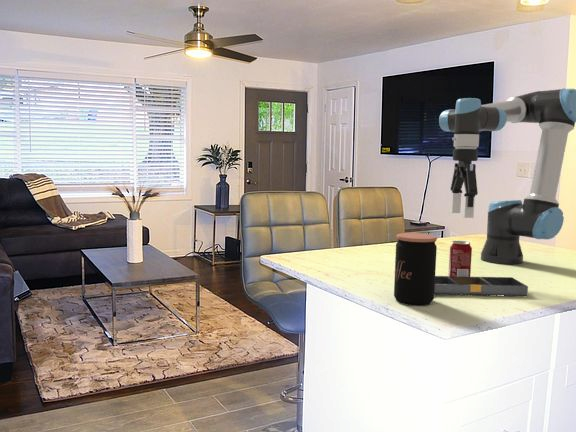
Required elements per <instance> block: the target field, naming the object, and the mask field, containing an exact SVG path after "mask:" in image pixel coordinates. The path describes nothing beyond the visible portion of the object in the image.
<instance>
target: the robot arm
mask: <svg viewBox="0 0 576 432" xmlns="http://www.w3.org/2000/svg"><path fill="white" fill-rule="evenodd" d="M438 122H439V123H438V125H439V127H440V129H441V130H442V131H444V132H449V133H453V132H454V134H453V137H452V138H451V139H452V141H453V147H454V149H453V150H452V160H453V162H454V161H455V163H454V169H453V175H452V178H451V185H450V191H451V193H452V194H451V197H452V198H451V214H460V213H461V204H462V194H463V190H462V188H463V185H464V190H465V193H464V195H463V196H464V209H463V218H465V219H469V218H471V219H474V215H475V213H474V212H475V197H476V196H477V195H478V194H479V191H478V183H477V173H476V167H477V166H476V164H475V163H473V162H477V161H478V160H479V159H478V158H479V150H478V148H479V145H480V132H484V131H485V132H486V131H487V132H488V131H489V132H497V131H501V130H502V129H503V128H504V127H505V125H506V124H507V123H508V122H509V123H511V124H517V123H518V124H519V123H533V124H538V126H539V127H540V129H541V135H540V140H539V143H538V144H539V146H538V150H537V156H536V161H535V166H534V170H533V177H532V181H531V186H530V190H529V191H530V192H529V194H528V195H527V196H526V197H524V199H523V201H522V200H521V199H516V200H514V199H513V200H499V201H492V202H490V203H489V205H488V210H487V225H486V240H485V243H484V244H483V245H484V246H483V248H482V250H481V252H480V259H481V260H482V261H484V262H488V263H493V264H502V265H503V264H504V265H517V264H522V263H524V255H523V252H522V247H521V244H520V237H525V238H531V239H532V238H533V239H536V240H551V239H554V238H555V237H556V236H557V235H558V234H559V233H560V231H561V230H562V227H563V225H564V221H565V219H564V218H565V217H564V212H563V210H562V209H561V208H560V202H559V201H558V200H557V199H556V198H557V192H558V189H559V188H558V187H559V182H560V177H561V171H562V168H563V167H562V166H563V162H564V158H565V152H566V147H567V141H568V137H569V133H570V132H572V131H573V130H574V129H575V127H576V125H575V124H576V89H575V88H559V89H550V90H537V91H536V90H535V91H532V92H529V93H526V94H525V93H524V94H522V95H518V96H513V97H512V96H511V97H510V98H508V99H507V100H504V101H499V102H493V103H486V104H482V101H481V99H479V98H476V97H473V98H472V97H467V98H466V97H464V98H458V99H457V100H456V103H455V109H451V108H450V109H446V110H444V111H442V112H441V113H440V115H439V118H438ZM456 161H457V163H456Z"/></svg>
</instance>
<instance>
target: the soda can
mask: <svg viewBox="0 0 576 432" xmlns="http://www.w3.org/2000/svg"><path fill="white" fill-rule="evenodd" d="M472 252H473V247H472V246H471V242H469V241H466V240H452V243H451V245H450V246H449V256H448V257H449V258H448V259H449V260H448V275H447V276H465V277H471V271H472V255H473V254H472Z"/></svg>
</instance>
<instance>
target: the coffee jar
mask: <svg viewBox="0 0 576 432" xmlns="http://www.w3.org/2000/svg"><path fill="white" fill-rule="evenodd" d="M396 239H397V242H396V244H395V260H394V263H395V264H394V282H393V283H394V286H393V297H394V299H395V300H396V302H398V303H399V304H402V305H406V306H413V307H421V306H422V307H424V306H429V305H430V304H432V302H433V301H434V299H435V295H434V291H435V276H436V271H437V270H436V269H437V249H438V248H437V244H436V241H437V240H438V237H437V236H436V235H435V234H427V233H419V232H403V233H401V232H400V233H397V234H396Z"/></svg>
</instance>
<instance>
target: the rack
mask: <svg viewBox="0 0 576 432" xmlns="http://www.w3.org/2000/svg"><path fill="white" fill-rule="evenodd" d="M528 289H529V286H528V285H526V284H524V283H523V282H521V281H519V280H518V279H516V278H514V277H510V276H508V277H506V276H505V277H502V276H470V277H465V276H448V275H435V291H434V296H468V295H470V296H471V295H472V296H477V297H478V296H479V297H491V296H490V295H496V296H495V297H498V296H497V295H504V296H503V297H517V296H527V297H528V295H529V294H528ZM487 295H488V296H487Z"/></svg>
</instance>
